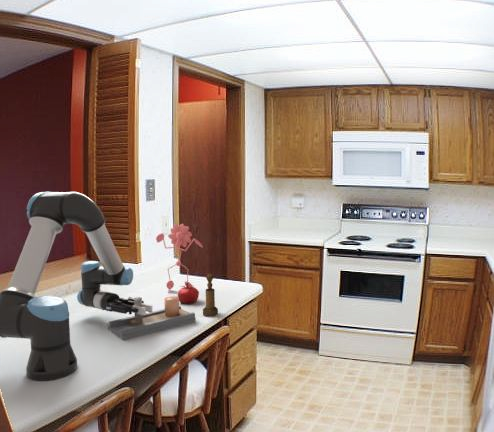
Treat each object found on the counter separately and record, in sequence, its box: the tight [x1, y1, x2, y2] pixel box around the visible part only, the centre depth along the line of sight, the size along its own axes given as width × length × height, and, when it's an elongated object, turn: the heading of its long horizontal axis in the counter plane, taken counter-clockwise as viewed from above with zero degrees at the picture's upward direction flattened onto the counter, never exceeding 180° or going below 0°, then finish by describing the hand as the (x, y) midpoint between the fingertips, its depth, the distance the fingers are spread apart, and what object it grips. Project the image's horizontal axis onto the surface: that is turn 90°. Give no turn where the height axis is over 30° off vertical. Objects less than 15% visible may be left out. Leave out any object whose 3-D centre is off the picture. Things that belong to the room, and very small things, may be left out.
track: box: [107, 305, 196, 341], centre depth 190 cm, size 32×14×4 cm, turn 128°
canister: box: [164, 296, 180, 317], centre depth 195 cm, size 6×6×7 cm
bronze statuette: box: [202, 273, 219, 318], centre depth 203 cm, size 7×6×18 cm
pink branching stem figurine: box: [155, 223, 204, 294], centre depth 241 cm, size 15×26×35 cm, turn 76°
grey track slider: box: [129, 296, 190, 326], centre depth 192 cm, size 24×9×11 cm, turn 128°
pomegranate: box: [177, 283, 200, 304], centre depth 222 cm, size 10×10×9 cm
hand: (148, 310), depth 183 cm, fingers closed on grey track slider, 3 cm apart
